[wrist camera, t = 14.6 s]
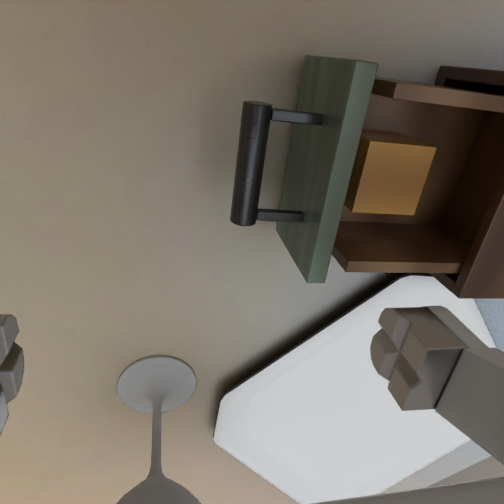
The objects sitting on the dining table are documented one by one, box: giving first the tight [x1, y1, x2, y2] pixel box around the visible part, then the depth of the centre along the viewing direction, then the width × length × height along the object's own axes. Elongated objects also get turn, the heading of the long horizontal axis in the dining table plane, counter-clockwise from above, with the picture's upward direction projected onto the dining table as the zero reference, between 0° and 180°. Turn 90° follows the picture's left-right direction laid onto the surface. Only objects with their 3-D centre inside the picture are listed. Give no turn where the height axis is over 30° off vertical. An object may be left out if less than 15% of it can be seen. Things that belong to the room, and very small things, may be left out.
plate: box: [213, 274, 497, 504], centre depth 43 cm, size 29×29×2 cm
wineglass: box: [117, 355, 201, 504], centre depth 28 cm, size 8×8×21 cm
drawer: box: [230, 55, 504, 283], centre depth 26 cm, size 19×12×8 cm, turn 83°
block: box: [344, 129, 437, 215], centre depth 26 cm, size 4×4×4 cm
